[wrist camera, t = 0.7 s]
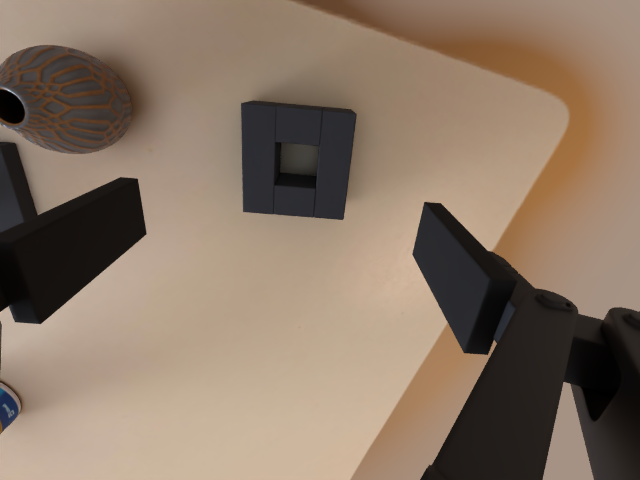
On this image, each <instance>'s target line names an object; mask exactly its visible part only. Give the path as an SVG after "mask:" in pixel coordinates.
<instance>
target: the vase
mask: <svg viewBox="0 0 640 480" xmlns="http://www.w3.org/2000/svg"><path fill="white" fill-rule="evenodd" d="M131 116H132V106H131V100H130V97H129V94H128V91H127V89H126V87H125V86H124V84H123V82H122V81H121V80H120V78H119V77H118V76H117V75H116V74H115V73H114V72H113V71H112V70H111V69H110V68H109V67H108V66H107V65H105V64H104V63H103V62H101V61H100V60H98V59H97V58H95V57H93V56H91V55H89V54H87V53H85V52H82V51H79V50H76V49H73V48H68V47H63V46H56V45H40V46H34V47H29V48H26V49H23V50H20V51H18V52H16V53H14V54H12V55H11V56H10V57H8V58H7V59H6V60H5V61H4V62H3V63H2V64H1V66H0V124H1V125H3V126H5V127H7V128H9V129H12V130H15V131H16V132H17V133H19V134H20V135H21V136H23V137H24V138H26V139H27V140H29V141H30V142H32V143H34V144H36V145H38V146H40V147H43V148H45V149H48V150H52V151H56V152H61V153H68V154H86V153H92V152H96V151H99V150H102V149H105V148H107V147H109V146H111V145H113V144H114V143H115V142H117V141H118V140H119V139H120V138H121V137H122V136H123V135H124V133H125V132H126V130H127V129H128V126H129V124H130V121H131Z"/></svg>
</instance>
